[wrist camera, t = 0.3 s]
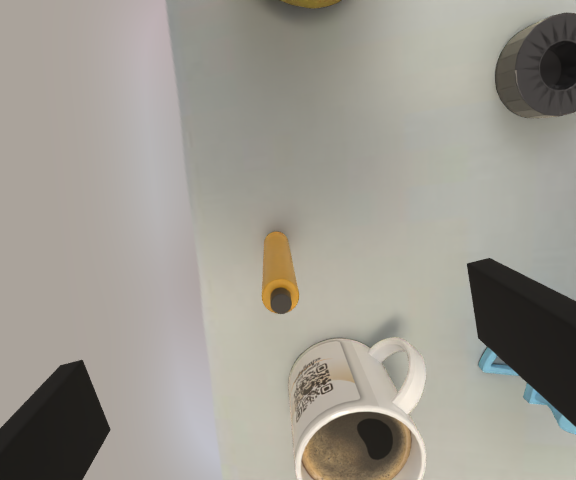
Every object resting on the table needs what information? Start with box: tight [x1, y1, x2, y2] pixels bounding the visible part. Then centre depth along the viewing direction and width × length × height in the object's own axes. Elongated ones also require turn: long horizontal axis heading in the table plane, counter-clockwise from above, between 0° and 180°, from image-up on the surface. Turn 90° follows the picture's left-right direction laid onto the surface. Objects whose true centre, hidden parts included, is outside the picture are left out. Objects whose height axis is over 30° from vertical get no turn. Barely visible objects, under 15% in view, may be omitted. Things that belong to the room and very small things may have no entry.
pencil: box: [262, 232, 299, 314], centre depth 30 cm, size 2×2×15 cm
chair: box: [479, 347, 576, 435], centre depth 35 cm, size 8×8×12 cm
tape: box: [495, 13, 576, 119], centre depth 34 cm, size 8×8×3 cm
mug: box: [288, 337, 426, 480], centre depth 36 cm, size 10×12×11 cm
